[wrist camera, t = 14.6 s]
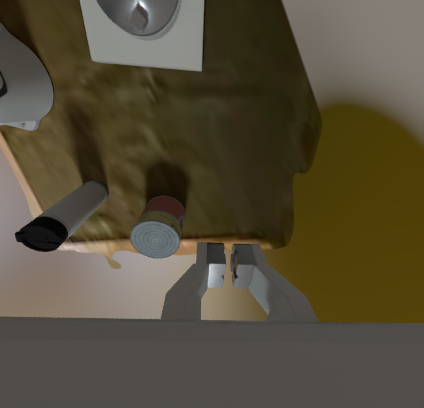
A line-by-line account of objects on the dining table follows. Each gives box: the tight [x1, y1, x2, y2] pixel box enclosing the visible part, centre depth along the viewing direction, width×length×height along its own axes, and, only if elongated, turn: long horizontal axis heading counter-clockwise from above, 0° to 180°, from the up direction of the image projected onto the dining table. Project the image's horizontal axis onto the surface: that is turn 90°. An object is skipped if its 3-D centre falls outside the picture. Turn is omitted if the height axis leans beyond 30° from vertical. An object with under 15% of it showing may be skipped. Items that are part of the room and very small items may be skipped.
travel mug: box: [15, 180, 108, 252], centre depth 41 cm, size 6×7×20 cm
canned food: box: [130, 196, 185, 258], centre depth 48 cm, size 11×11×12 cm
